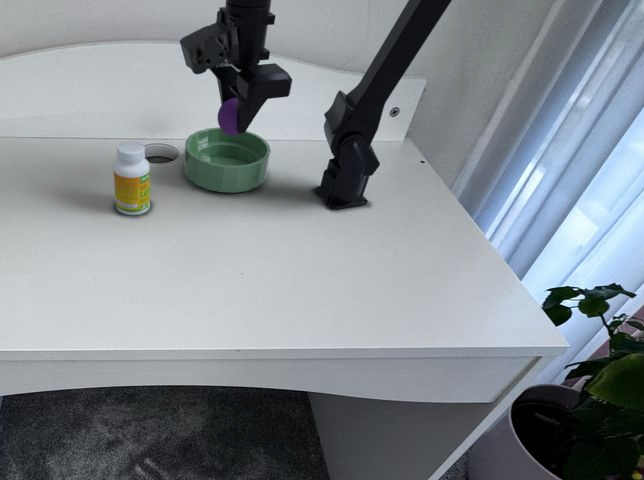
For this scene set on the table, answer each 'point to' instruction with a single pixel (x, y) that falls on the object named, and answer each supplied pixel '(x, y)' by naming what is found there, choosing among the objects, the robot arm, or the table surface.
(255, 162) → the bowl
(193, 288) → the table surface
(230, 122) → the ball
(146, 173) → the supplement bottle
